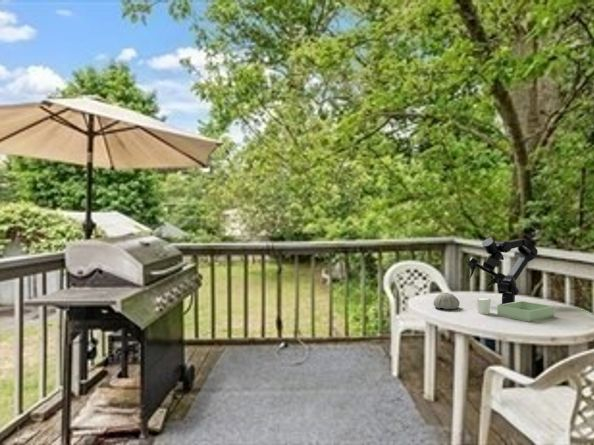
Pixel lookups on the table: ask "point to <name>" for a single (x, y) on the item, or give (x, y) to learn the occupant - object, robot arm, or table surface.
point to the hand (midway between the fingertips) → (478, 282)
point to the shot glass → (483, 305)
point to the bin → (526, 311)
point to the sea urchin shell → (446, 301)
